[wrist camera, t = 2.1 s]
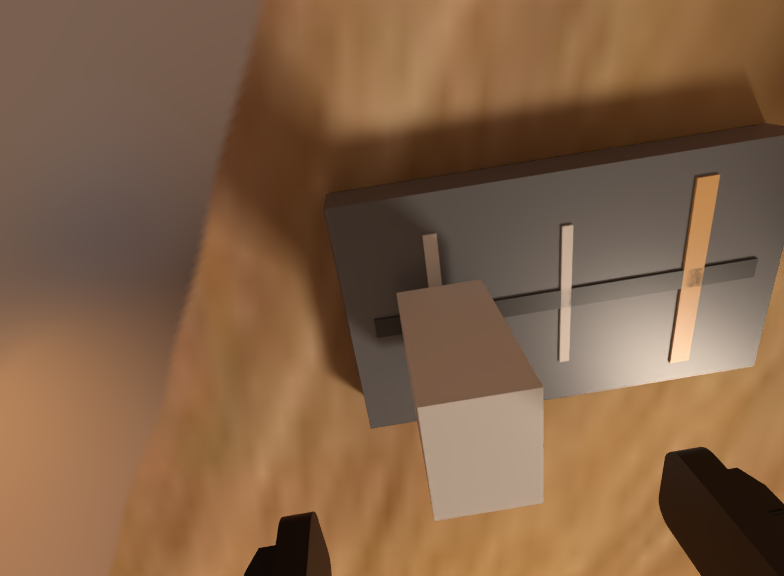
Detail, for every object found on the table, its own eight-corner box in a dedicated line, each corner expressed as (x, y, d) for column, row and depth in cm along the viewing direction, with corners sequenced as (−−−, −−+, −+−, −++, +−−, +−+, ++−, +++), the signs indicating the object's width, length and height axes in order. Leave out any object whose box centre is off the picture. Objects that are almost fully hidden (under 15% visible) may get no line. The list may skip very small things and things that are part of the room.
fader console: (326, 194, 18) (323, 210, 16) (766, 123, 18) (814, 131, 16) (369, 398, 22) (370, 430, 21) (721, 341, 22) (755, 367, 21)
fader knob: (394, 281, 17) (417, 407, 11) (475, 268, 17) (543, 387, 11) (408, 369, 19) (434, 521, 13) (481, 358, 19) (543, 502, 13)
